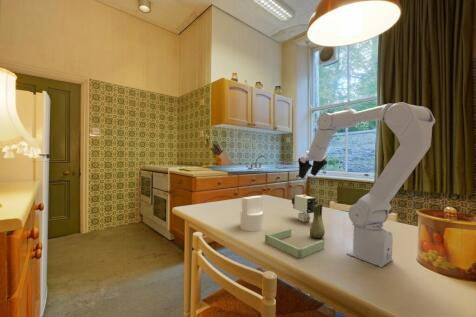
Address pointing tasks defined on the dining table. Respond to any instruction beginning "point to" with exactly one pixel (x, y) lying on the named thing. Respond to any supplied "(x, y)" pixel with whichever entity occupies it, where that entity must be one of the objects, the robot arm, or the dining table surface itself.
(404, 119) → the robot arm
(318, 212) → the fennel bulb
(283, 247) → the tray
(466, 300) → the dining table surface
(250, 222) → the cylinder with rectangular tab
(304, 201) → the pneumatic valve
